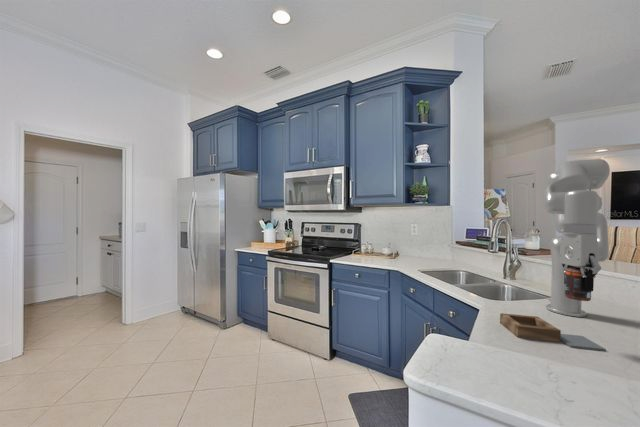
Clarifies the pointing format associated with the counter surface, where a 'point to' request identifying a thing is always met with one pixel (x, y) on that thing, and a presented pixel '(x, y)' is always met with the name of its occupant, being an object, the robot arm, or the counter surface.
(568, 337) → the slate coaster
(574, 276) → the supplement bottle
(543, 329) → the pocket frame
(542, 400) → the counter surface
